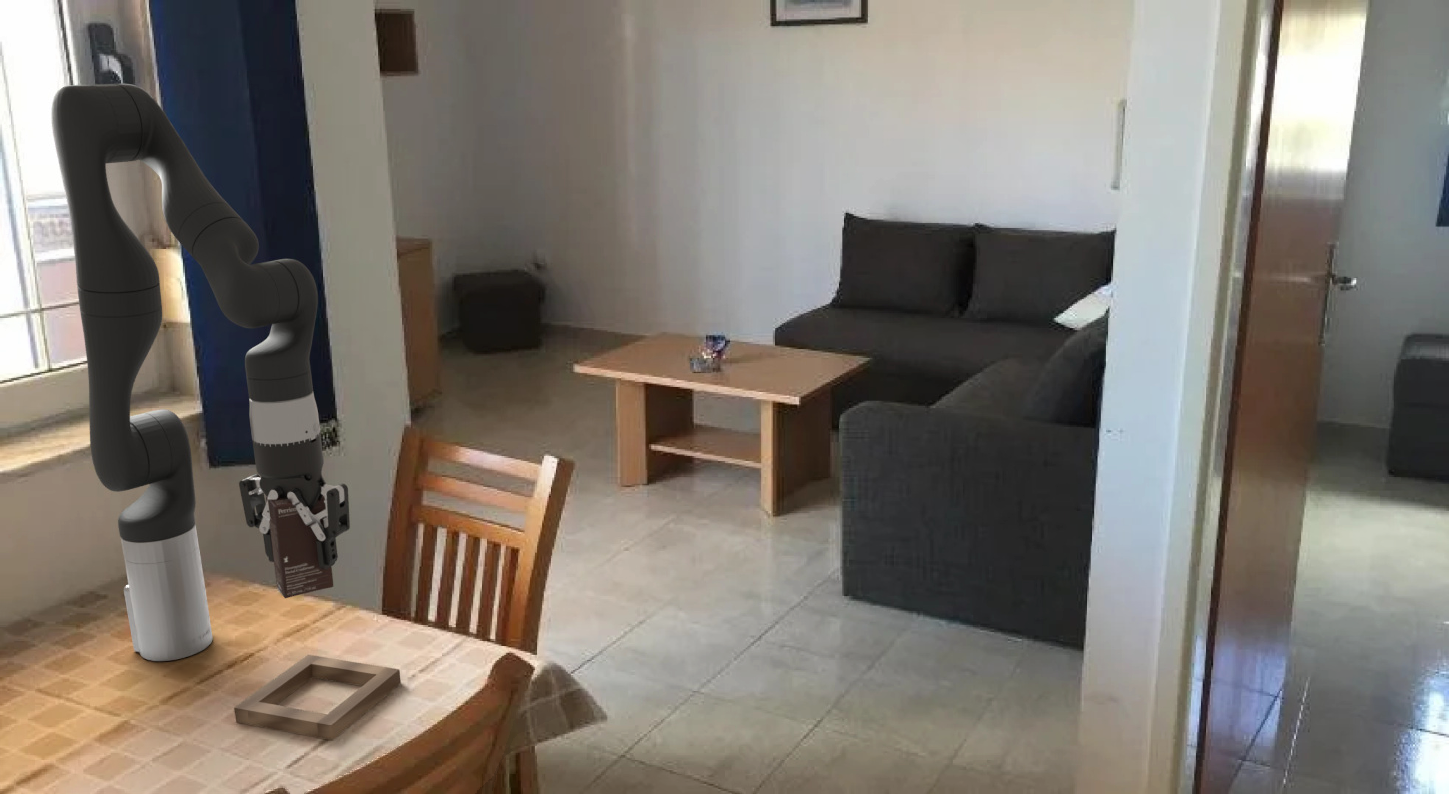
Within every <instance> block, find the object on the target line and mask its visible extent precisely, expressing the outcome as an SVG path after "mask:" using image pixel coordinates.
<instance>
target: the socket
mask: <svg viewBox="0 0 1449 794" xmlns="http://www.w3.org/2000/svg"><path fill="white" fill-rule="evenodd" d="M312 679H318V680H326V681H329V682H330V681H332V682H337V683H344V684H348V685H355V686H361V687H360V688H358V689H357V690H356V691H354V692H353V693H352V694H351V695H350V696H348V697H346V699H344V700H343V701H342V702H340V703H339V704H338V705H336V706H335V708H333V709H332V710H331V711H329V712H328V713H322V712H317V711H313V710H312V711H311V710H307V709H300V708H295V707H290V706H283V705H279V703H281V702H282V701H284V700H285V699H286V698H287V697H289V696H290V695H291V694H293V693H294V692H296V691H297V690H298V689H300V688H301V687H302V686H304V685H305V684H307V683H308V682H309V681H310V680H312ZM401 684H402V682H401V673H400V668H395V667H394V668H392V667H386V666H380V665H374V664H368V663H361V662H356V661H350V660H343V659H336V658H332V657H327V656H326V657H325V656H320V655H312V654H307V655H305V656H304V657H303V658H301V659H300V660H298V661H297V662H296V663H294V664H293V665H292V666H290V667H289V668H287V669H286V670H284V671H283V672H281V674H279V675H277V676H276V677H275V678H273V679H272V680H270V681H269V682H268V683H266V684H265V685H263V686H262V687H261V688H259V689H258V690H256V691H255V692H254V693H252V694H251V695H250V696H247V697H246V698H245V699H244V700H243V701H241V702H239V703H238V704H237V705H235V706H234V707H233V712H234V717H235V723H238V724H243V725H249V726H255V727H259V728H266V729H270V730H276V731H281V732H287V733H291V734H296V735H297V734H298V735H302V736H307V737H313V738H319V739H323V740H329V741H334V740H335V739H337V738H338V737H339V736H340V735H341V734H343V733H344V732H345V731H346V730H347V729H348V728H350V727H351V726H352V725H354V723H356V722H357V721H358V720H359V719H360V718H361V717H363V716H364V715H365V714H366V713H367V712H369V711H370V710H371V709H372V708H374V707H375V706H376V705H377V704H378V703H379V702H381V701H382V700H383V699H385V697H386V696H387V695H389V694H390V693H391V692H392V691H394V690H395V689H396V688H397V687H399V686H400V685H401Z"/></svg>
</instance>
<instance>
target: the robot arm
mask: <svg viewBox="0 0 1449 794" xmlns="http://www.w3.org/2000/svg"><path fill="white" fill-rule="evenodd" d="M51 129H52V136H53V141H54V148H55V152H56V155H57V156H56V157H57V160H58V165H59V171H60V175H61V176H60V177H61V179H62V184H63V189H64V193H65V199H66V203H67V209H68V213H69V221H70V230H71V235H72V244H73V252H74V253H73V254H74V261H75V275H76V285H77V295H78V304H79V305H78V307H79V312H80V318H81V319H80V320H81V325H82V331H83V340H84V346H85V353H86V355H85V356H86V364H87V376H88V377H87V378H88V403H89V404H88V405H89V406H88V409H89V410H88V413H89V421H88V422H89V442H90V443H89V444H90V445H89V447H90V453H91V460H92V463H93V467H94V470H95V471H94V472H95V473H96V475H97V477H98V479H99V481H100V483H101V484H102V486H104V487H105V488H106V489H108V491H111V492H118V493H119V492H125V491H129V490H133V489H137V488H140V487H144V486H148V485H149V486H148V487H147V488H146V490H145V491H144V493H143V494H142V495H141V496H140V497H139V498H137V500H136V501H134V502H133V503H131V504H130V505H129V506H127V507H126V508H125V509H124V510H123V511H122V512H121V513H120V515H119V516H118V519H117V523H118V524H117V527H118V533H119V537H120V542H121V547H122V554H123V559H124V565H125V571H126V577H127V583H128V584H126V585H125V586H124V587H123V594H124V599H125V606H126V613H127V616H128V622H129V623H128V624H129V630H130V634H131V635H130V636H131V640H132V647H133V652H137V653H139V654H140V656H141V657H142V658H143V659H146V660H148V661H153V662H166V661H167V662H168V661H175V660H180V659H184V658H186V657H191V656H194V655H195V654H198V653H200V652H202V651H203V650H206V649H207V648H208V647H209V645H211V644H212V641H213V633H212V626H211V618H210V611H209V603H208V598H207V591H206V586H205V585H206V583H205V578H204V577H205V576H204V571H203V566H202V557H201V553H200V546H199V539H198V532H197V527H196V526H197V525H196V519H195V511H196V502H197V501H196V492H195V482H194V481H195V480H194V472H193V459H192V451H191V445H190V444H191V443H190V440H189V436H188V433H187V430H186V427H185V425H184V423H183V421H182V420H181V419H180V417H179V416H178V415H177V414H176V413H175V412H173V411H172V410H169V409H155V410H150V411H147V412H142V413H139V414H135V415H131V399H132V391H133V388H134V385H135V384H134V383H135V382H136V378H137V376H138V374H139V373H140V370H141V368H142V367H143V364H144V362H145V360H146V359H147V356H148V354H149V352H150V351H151V349H152V346H153V344H154V342H155V340H156V338H157V336H158V333H159V332H160V329H161V326H162V321H163V305H162V304H163V303H162V295H161V284H160V283H161V282H160V281H161V280H160V273H159V270H158V266H157V264H156V262H155V260H154V259H153V257H152V255H151V254H150V252H149V250H147V247H146V246H144V244H143V242H141V239H139V238H138V236H137V235H136V234H135V232H133V230H132V229H131V228H130V226H129V225H128V224H127V223H126V222H125V220H124V219H123V218H122V216H121V214H120V213H119V210H117V207H116V206H115V204H114V201H113V198H112V194H111V190H110V187H109V186H110V185H109V183H108V176H107V167H106V166H107V165H106V164H115V163H116V164H118V163H126V162H127V163H128V162H135V161H136V162H137V161H140V162H142V163H144V164H145V165H147V166H148V167H149V168H150V169H152V170H153V171H154V172H155V173H156V174H157V176H158V177H159V178H160V181H161V206H162V207H161V208H162V214H163V217H164V219H165V223H166V225H167V227H168V229H169V230H170V232H171V233H172V236H174V237H175V239H176V240H177V241H178V243H179V244H181V246H182V247H183V248H184V249H185V250H186V251H187V253H188V254H189V255H190V256H191V257H192V258H193V259H194V260H195V261H196V262H197V263H198V264H199V265H200V267H201V269H202V271H203V273H204V275H205V277H206V279H207V282H208V284H209V286H210V288H211V289H212V292H213V293H212V294H214V297H215V299H216V302H217V305H218V307H219V308H220V311H221V312H222V314H223V315H224V316H225V317H226V318H227V320H229V321H231V322H232V323H233V324H235V325H237V326H239V327H242V328H244V329H257V328H263V327H267V326H271V328H270V331H269V335H268V336H267V338H266V339H264V340H263V341H262V342H260V343H259V344H257V345H255V346H253V347H252V348H250V349H249V350H248V351H247V352H246V354H245V356H244V369H245V375H246V383H247V390H248V399H249V424H250V431H251V439H252V446H253V453H254V455H253V456H254V461H255V468H256V469H255V470H256V474H253V475H250V476H248V477H246V478H244V479H242V480H240V481H239V482H238V486H239V491H240V497H241V500H242V501H241V503H242V507H243V511H244V512H243V513H244V517H245V521H246V522H245V523H246V525H247V526H248V527H249V528H254V527H255V528H257V529H258V530H259V531H260V533H261V534H262V535H263V536H262V537H263V543H264V551H265V555H266V557H268V561H269V562H271V563H274V559H273V551H272V542H271V534H270V524H269V521H270V513H269V505H268V500H276V501H277V500H278V499H280V498H285V499H289V501H290V502H291V503H292V504H293V505H294V506H296V509H297V511H298V513H299V514H300V516H301V518H302V519H303V521H304V523H305V524H306V525H307V526H310V527H311V528H312V530H313V532H314V533H315V535H316V537H317V538H318V540H317V541H316V544H317V552H318V561H319V567H320V568H321V569H328V568H329V567H333V566H334V565H335V564H336V562H337V561H338V557H339V556H338V549H337V548H338V547H337V539H336V538H338V537H339V536H341V534H343V533H345V532H347V531H349V530H350V527H351V524H350V507H349V506H350V503H349V488H348V486H347V484H345V483H340V484H338V485H334V484H333V485H332V484H327V483H326V480H325V479H324V477H323V475H322V474H323V473H322V471H323V467H324V463H325V461H324V452H323V451H324V450H323V445H322V444H323V443H322V435H321V428H320V419H319V412H318V410H319V409H318V406H317V402H316V399H315V394H314V388H313V387H314V385H313V378H312V369H311V363H310V355H311V351H312V345H313V337H314V332H315V331H314V330H315V325H316V324H315V323H316V318H317V314H318V313H317V311H318V305H319V304H318V303H319V299H318V298H319V296H318V295H319V293H318V287H317V284H316V280H315V278H314V276H313V274H312V273H311V271H310V270H309V268H308V267H307V266H306V265H305V264H304V263H302V262H301V261H299V260H297V259H293V258H282V259H275V260H271V261H264V262H258V263H253V262H254V260H255V259H256V257H257V255H258V254H259V248H260V245H259V244H260V243H259V239H258V237H257V235H256V233H255V232H254V231H253V230H252V229H251V227H250V226H249V224H248V223H247V222H246V221H245V220H243V218H242V217H241V216H240V215H239V214H238V213H237V212H236V211H235V209H233V208H232V206H231V205H230V204H229V203H228V202H227V201H226V200H225V199H224V198H223V197H222V196H221V194H219V192H218V191H217V190H216V189H215V188H214V186H213V185H212V184H211V182H210V181H209V179H208V178H207V177H206V176H205V174H204V173H203V171H202V170H201V168H200V166H199V165H198V163H197V161H196V160H195V159H194V157H193V156H192V154H191V151H190V150H189V148H188V147H187V145H186V143H185V142H184V140H183V139H182V137H180V136H181V135H180V134H179V133H178V132H177V130H176V128H175V127H174V125H173V124H172V122H171V120H170V119H169V117H168V116H167V115H166V113H165V111H164V110H163V109H162V107H161V105H159V103H158V102H157V101H156V100H155V98H154V97H153V96H152V95H151V94H150V93H149V92H148V91H146V89H144V88H143V87H141V86H139V85H135V84H132V83H131V84H130V83H105V84H104V83H102V84H101V83H100V84H98V83H97V84H96V83H95V84H89V83H88V84H71V85H65V86H62V87H61V88H59V89H58V90H57V91H56V93H55V94H54V96H53V99H52V103H51ZM252 263H253V264H252ZM267 496H268V500H267V501H266V497H267ZM323 496H324V497H325V500H324V503H325V505H326V510H325V509H324V510H323V511H321V512H320V513H318V514H316V515H313V514H312V513H311V510H312V509H313V508H314V507H315V506H316V504H317V499H319V502H320V500H321V498H322V497H323ZM320 519H323V520H324V527H325V528H323V526H322V524H321V523H320Z"/></svg>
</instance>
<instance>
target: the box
mask: <svg viewBox="0 0 1449 794" xmlns="http://www.w3.org/2000/svg"><path fill="white" fill-rule="evenodd" d="M267 500H268V496H265V502H267ZM324 500H325V497H324V495H323V497H322V498H321V500H320V502H319V499H317V504H316V506H315V507H314V508H313V509H312V510H311V513H312V514H313V515H316V514H318V513H320V512H321V511H323V510H324V509H325V510H326V505H325V503H324ZM268 505H269V513H270V521H269V524H270V534H271V542H272V551H273V559H274V562H273V566H274V575H275V581H276V582H275V583H276V588H277V591H279V593H280V594H281V596H283V598H284V599H287V598H292V597H296V596H299V595H303V594H308V593H313V592H317V591H321V590H324V589H325V590H326V589H330V588H333V587H334V577H333V569H332V567H333V566H331V567H329V568H328V569H321V568H320V567H319V561H318V552H317V544H316V541H317V540H318V538H317V537H316V535H315V533H314V532H313V530H312V528H311V527H310V526H307V525H306V524H305V523H304V521H303V519H302V518H301V516H300V514H299V513H298V511H297V509H296V506H294V505H293V504H292V503H291V502H290V501H289V499H285V498H280V499H278V500H277V501H276V500H268ZM320 523H321V524H322V526H323V528H325V527H324V520H323V519H320Z"/></svg>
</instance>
